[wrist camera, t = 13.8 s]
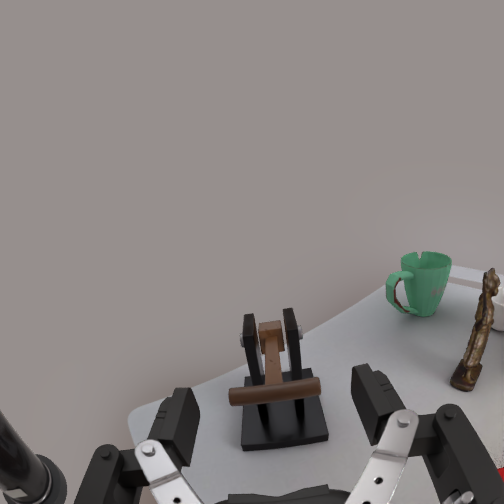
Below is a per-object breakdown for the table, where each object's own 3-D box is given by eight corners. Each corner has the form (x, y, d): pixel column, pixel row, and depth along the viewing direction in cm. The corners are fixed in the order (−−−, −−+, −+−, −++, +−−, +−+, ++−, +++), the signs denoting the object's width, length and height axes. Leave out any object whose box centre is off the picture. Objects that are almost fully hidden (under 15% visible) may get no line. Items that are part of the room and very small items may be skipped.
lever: (322, 405, 14) (320, 373, 14) (232, 417, 15) (225, 385, 14) (298, 339, 27) (296, 317, 27) (246, 346, 27) (242, 325, 27)
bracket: (328, 440, 23) (330, 347, 19) (243, 451, 23) (214, 363, 20) (311, 374, 34) (305, 290, 31) (246, 383, 35) (228, 301, 32)
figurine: (466, 401, 20) (501, 285, 17) (442, 392, 23) (468, 279, 20) (482, 367, 24) (506, 262, 20) (461, 360, 27) (480, 258, 23)
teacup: (523, 331, 25) (531, 302, 24) (493, 340, 27) (501, 310, 26) (499, 306, 34) (504, 280, 33) (471, 312, 37) (475, 285, 35)
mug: (421, 294, 48) (423, 248, 46) (455, 310, 39) (461, 258, 37) (369, 318, 45) (369, 266, 43) (405, 341, 36) (410, 282, 33)
